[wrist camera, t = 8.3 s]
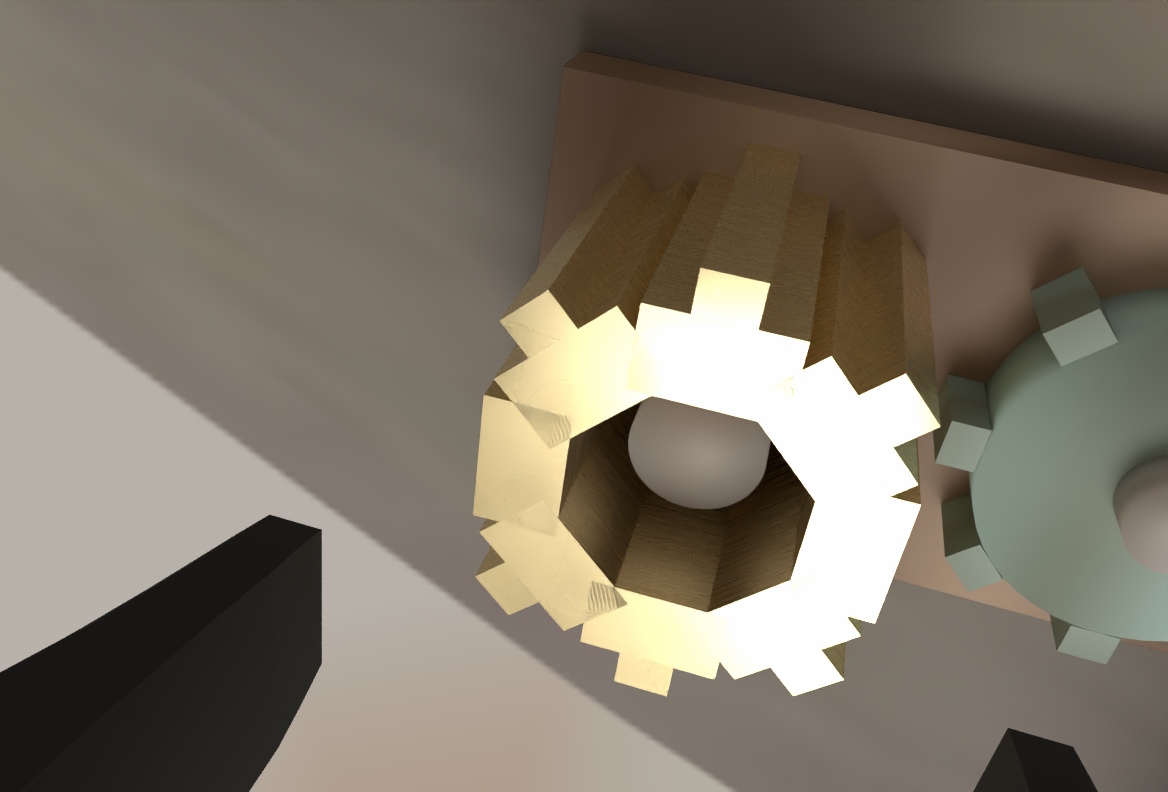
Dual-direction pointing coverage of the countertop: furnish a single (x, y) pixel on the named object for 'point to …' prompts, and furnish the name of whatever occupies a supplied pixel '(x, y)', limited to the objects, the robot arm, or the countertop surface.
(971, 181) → the gear board
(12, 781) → the robot arm
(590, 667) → the countertop surface
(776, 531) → the brass gear
